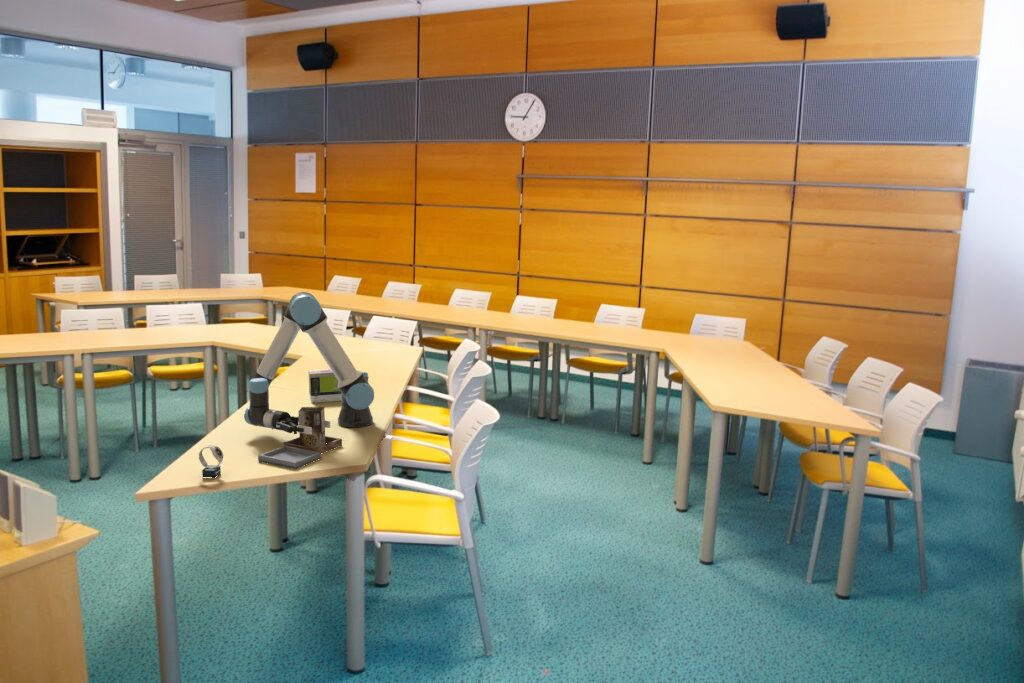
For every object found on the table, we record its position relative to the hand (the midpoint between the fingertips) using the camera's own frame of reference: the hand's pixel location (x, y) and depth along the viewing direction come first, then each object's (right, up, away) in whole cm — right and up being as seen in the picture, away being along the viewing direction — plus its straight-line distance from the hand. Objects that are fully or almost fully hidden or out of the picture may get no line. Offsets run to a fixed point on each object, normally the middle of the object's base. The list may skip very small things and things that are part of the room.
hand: (320, 427), depth 309 cm
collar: (-4, -9, +3) cm, 10 cm away
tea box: (-18, +4, +83) cm, 84 cm away
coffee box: (-4, -9, +3) cm, 10 cm away
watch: (-31, -14, -31) cm, 46 cm away
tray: (-9, -11, -12) cm, 18 cm away
